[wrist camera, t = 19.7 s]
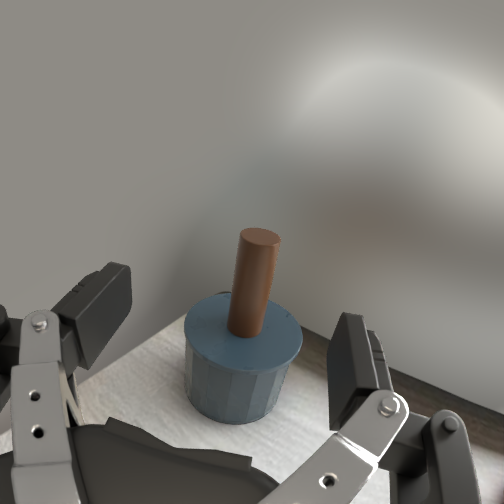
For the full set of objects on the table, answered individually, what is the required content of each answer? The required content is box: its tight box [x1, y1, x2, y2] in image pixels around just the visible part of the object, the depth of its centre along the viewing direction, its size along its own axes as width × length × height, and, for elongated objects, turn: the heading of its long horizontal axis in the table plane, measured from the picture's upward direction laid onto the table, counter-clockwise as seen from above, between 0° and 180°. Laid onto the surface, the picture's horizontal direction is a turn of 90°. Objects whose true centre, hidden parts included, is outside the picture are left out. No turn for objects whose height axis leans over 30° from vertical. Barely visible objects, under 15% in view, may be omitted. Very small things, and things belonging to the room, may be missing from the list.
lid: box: [184, 228, 302, 375], centre depth 24 cm, size 10×10×9 cm
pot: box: [185, 340, 290, 424], centre depth 27 cm, size 9×9×8 cm
